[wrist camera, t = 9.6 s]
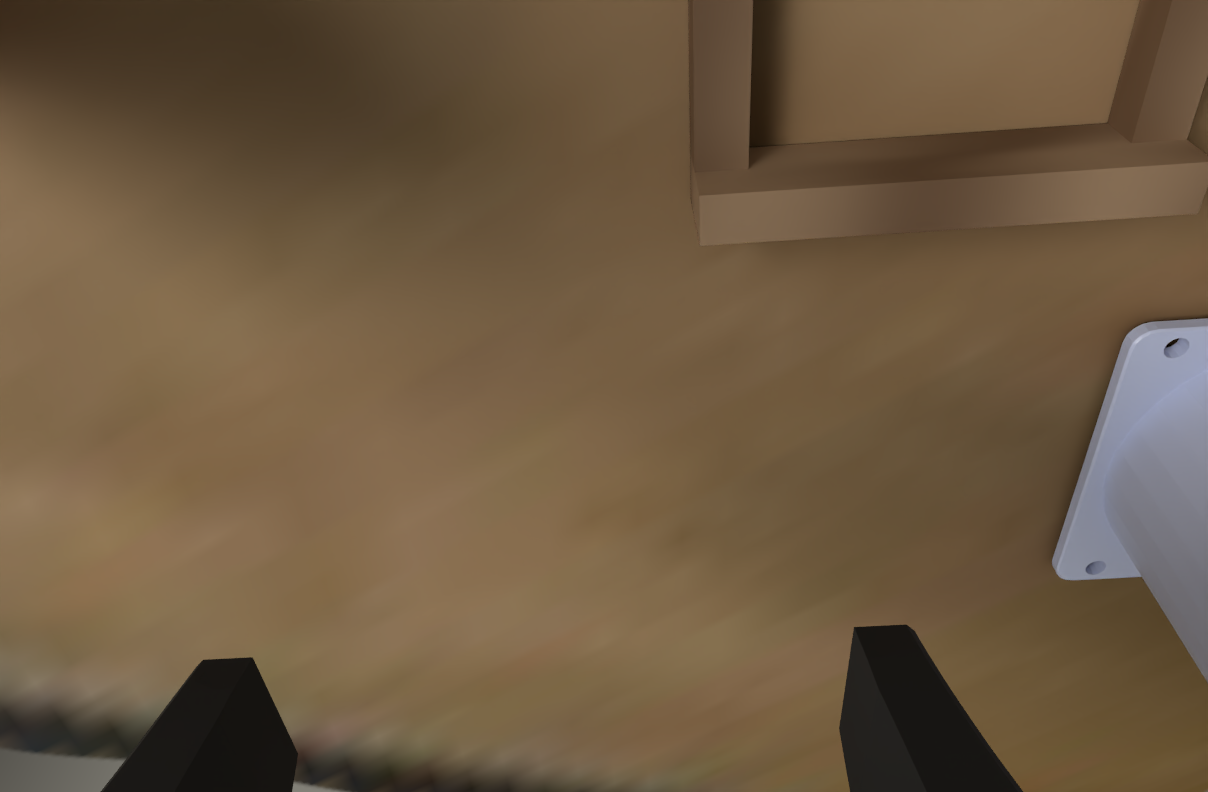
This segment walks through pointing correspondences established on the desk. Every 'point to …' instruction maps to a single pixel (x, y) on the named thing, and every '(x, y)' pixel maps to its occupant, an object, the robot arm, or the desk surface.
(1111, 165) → the frame
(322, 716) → the desk surface
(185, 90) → the desk surface
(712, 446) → the desk surface
